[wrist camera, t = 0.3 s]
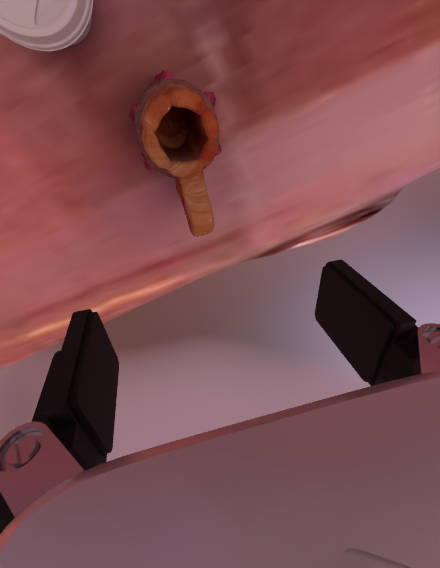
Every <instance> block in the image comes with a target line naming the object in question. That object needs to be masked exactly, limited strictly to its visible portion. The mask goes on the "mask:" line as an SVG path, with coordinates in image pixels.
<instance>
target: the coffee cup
mask: <svg viewBox="0 0 440 568" xmlns="http://www.w3.org/2000/svg"><path fill="white" fill-rule="evenodd" d="M92 8H93V0H0V33H1V34H2V35H4V36H5V37H7V38H8V39H10V40H12V41H13V42H15V43H17V44H19V45H22V46H24V47H27V48H30V49H34V50H39V51H56V50H60V49H63V48H66V47H68V46H70V45H76V44H78V43H80V42H82V41H83V40H84V39H85V38H86V37H87V35H88V33H89V31H90V28H91V24H92Z"/></svg>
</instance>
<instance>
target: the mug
mask: <svg viewBox="0 0 440 568" xmlns="http://www.w3.org/2000/svg"><path fill="white" fill-rule="evenodd" d="M154 82H155V83H154V84H153V85H151V86H150V87H148V88H147V89H146V90H145V92H144V93H143V94H142V96H141V97H140V99H139V101H138V104H133V105H132V106H131V107H130V113H129V116H130V118H131V119H132V121H134V122H135V125H136V133H137V138H138V142H139V145H140V147H141V150H142V155H143V157H144V164H145V168H146V169H150V170H151V169H156V170H158V171H159V172H161V173H163V174H165V175H167V176H169V177H173V178H176V188H177V191H178V193H179V195H180V197H181V201H182V204H183V207H184V211H185V214H186V218H187V220H188V224H189V228H190V231H191V233H192V234H193V235H194V236H197V237H198V236H204V235H205V234H209V233H211V232H212V231H213V228H214V218H213V212H212V208H211V204H210V201H209V197H208V194H207V190H206V186H205V182H204V175H203V170H204V169H205V168H206V167H207V166H208V165H209V164H210V163H211V162H212V161H213V159H214V157H215V156H216V155H218V154H219V153H220V152H221V146H220V145H219V144H218V138H219V125H218V122H217V117H216V114H215V111H214V108H213V107H214V105H215V101H216V98H215V96H214V93H213V92H205V93H203V92H202V91H201V90H200V89H199V88H197V87H196V86H194V85H192V84H191V83H189V82H186V81H184V80H179V79H174V77H173V75H172V74H171V73H169V72H168V71H164V70H163V71H162V72H161V74H158V75H156V78H155V81H154Z"/></svg>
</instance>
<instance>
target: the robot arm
mask: <svg viewBox="0 0 440 568" xmlns="http://www.w3.org/2000/svg"><path fill="white" fill-rule="evenodd" d="M315 317H316V320H317V321H318V323H319V324H320V326H321V327H322V328H323V329H324V331H325V332H326V333H327V335H328V336H329V337H330V338H331V340H332V341H333V342H334V343H335V345H336V346H337V347H338V349H339V350H340V351H341V353H342V354H343V355H344V356H345V358H346V359H347V360H348V362H349V363H350V364H351V365H352V367H353V368H354V369H355V371H357V373H358V374H359V376H360V377H361V378H362V379H363V380H364V381H365V382H368V383H369V384H370V385H371V387H367V388H363V389H360V390H356V391H352V392H348V393H345V394H341V395H337V396H334V397H330V398H326V399H322V400H319V401H315V402H312V403H308V404H304V405H301V406H297V407H294V408H290V409H286V410H283V411H279V412H275V413H272V414H268V415H265V416H261V417H258V418H254V419H251V420H247V421H243V422H240V423H236V424H233V425H230V426H226V427H222V428H218V429H215V430H212V431H208V432H204V433H201V434H197V435H194V436H190V437H187V438H184V439H180V440H176V441H173V442H169V443H166V444H162V445H159V446H156V447H153V448H149V449H146V450H143V451H139V452H136V453H133V454H129V455H126V456H123V457H120V458H117V459H114V460H112V461H108V462H106V458H107V453H110V452H111V451H112V447H113V434H114V421H115V409H116V397H117V385H118V372H119V362H118V358H117V355H116V353H115V351H114V348H113V347H112V344H111V342H110V339H109V337H108V335H107V333H106V330H105V328H104V326H103V324H102V321H101V319H100V317H99V315H98V313H97V312H92V311H91V310H90V309H88V310H83V311H78V312H74V313H73V315H72V318H71V321H70V324H69V327H68V330H67V334H66V337H65V340H64V343H63V346H62V350H61V351H58V352H56V353H55V355H54V357H53V359H52V362H51V365H50V368H49V371H48V374H47V377H46V381H45V383H44V386H43V389H42V392H41V395H40V398H39V401H38V404H37V407H36V410H35V413H34V416H33V419H32V422H29V423H26V424H23V425H21V426H19V427H17V428H15V429H14V430H12V431H11V432H9V433H8V434H7V435H6V436H5V437H4V438H3V439H2V440H1V441H0V568H440V324H433V323H430V324H424V325H421V326H420V327H419V328H418V327H417V326H416V325H415V323H416V320H415V319H414V318H413V317H411V316H410V315H409V314H408V313H406V312H405V311H404V310H403V309H401V308H400V307H399V306H398V305H397V304H395V303H394V302H393V301H392V300H391V299H389V298H388V297H387V296H386V295H384V294H383V293H382V292H381V291H380V290H378V289H377V288H376V287H375V286H374V285H372V284H371V283H370V282H369V281H367V280H366V279H365V278H364V277H363V276H361V275H360V274H359V273H358V272H356V271H355V270H354V269H353V268H352V267H350V266H349V265H348V264H347V263H345V262H344V261H343V260H336V261H331V262H328V263H327V264H326V266H324V267H323V269H322V274H321V280H320V286H319V292H318V298H317V304H316V309H315Z"/></svg>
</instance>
